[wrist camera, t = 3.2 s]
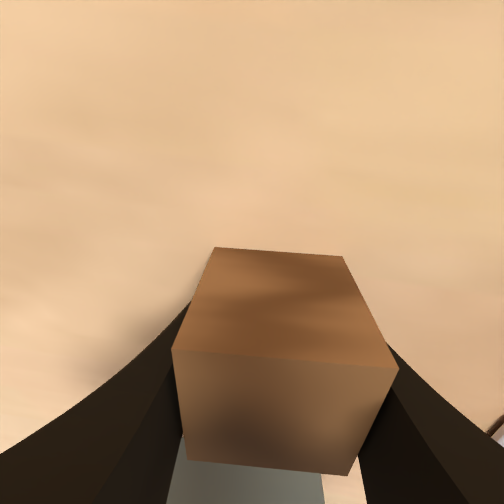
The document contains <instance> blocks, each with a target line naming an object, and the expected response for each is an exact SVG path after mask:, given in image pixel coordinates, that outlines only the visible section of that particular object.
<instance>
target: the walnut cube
mask: <svg viewBox="0 0 504 504" xmlns="http://www.w3.org/2000/svg"><path fill="white" fill-rule="evenodd" d="M171 351H172V358H173V365H174V372H175V379H176V386H177V393H178V400H179V407H180V414H181V420H182V427H183V434H184V441H185V448H186V455H187V460H193V461H203V462H212V463H222V464H232V465H242V466H252V467H261V468H271V469H281V470H291V471H301V472H311V473H320V474H330V475H340V476H348V474H349V472H350V469H351V467H352V465H353V463H354V461H355V459H356V457H357V455H358V453H359V451H360V449H361V447H362V445H363V443H364V441H365V439H366V436H367V434H368V432H369V430H370V428H371V426H372V424H373V422H374V420H375V418H376V416H377V414H378V412H379V410H380V408H381V405H382V403H383V401H384V399H385V397H386V395H387V393H388V391H389V389H390V387H391V385H392V383H393V381H394V379H395V377H396V375H397V372H398V370H399V367H398V365H397V363H396V361H395V359H394V357H393V355H392V353H391V352H390V350H389V348H388V346H387V344H386V342H385V340H384V338H383V336H382V334H381V332H380V330H379V328H378V326H377V324H376V322H375V320H374V318H373V316H372V314H371V312H370V310H369V308H368V306H367V304H366V302H365V300H364V298H363V296H362V294H361V293H360V291H359V289H358V287H357V285H356V283H355V281H354V279H353V277H352V275H351V273H350V271H349V269H348V267H347V265H346V263H345V261H344V259H343V257H342V256H328V255H314V254H301V253H287V252H273V251H260V250H246V249H233V248H219V247H214V250H213V252H212V254H211V257H210V259H209V261H208V264H207V266H206V268H205V271H204V273H203V275H202V278H201V280H200V283H199V285H198V287H197V290H196V292H195V294H194V297H193V299H192V301H191V304H190V306H189V308H188V311H187V313H186V315H185V318H184V320H183V322H182V325H181V327H180V329H179V332H178V334H177V336H176V339H175V341H174V343H173V346H172V348H171Z"/></svg>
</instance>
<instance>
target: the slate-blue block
mask: <svg viewBox="0 0 504 504" xmlns="http://www.w3.org/2000/svg"><path fill="white" fill-rule="evenodd" d="M166 504H325V501H324V494H323V487H322V480H321V474H320V473H311V472H301V471H291V470H281V469H271V468H261V467H252V466H242V465H232V464H222V463H212V462H203V461H193V460H187V455H186V448H185V441H184V437H182V438H181V442H180V446H179V450H178V454H177V459H176V463H175V467H174V471H173V476H172V480H171V484H170V489H169V493H168V498H167V502H166Z"/></svg>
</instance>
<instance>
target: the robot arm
mask: <svg viewBox="0 0 504 504" xmlns="http://www.w3.org/2000/svg"><path fill="white" fill-rule="evenodd" d="M190 304H191V301H190V302H189V304H188V305H187V306H186V307H185V308H184V309H183V310H182V311H181V313H180V314H179V315H178V316H177V317H176V318H175V319H174V320H173V321H172V322H171V323H170V325H169V326H168V327H167V328H166V329H165V330H164V331H163V332H162V333H161V334H160V335H159V336H158V337H157V338H156V339H155V340H154V341H153V342H152V343H151V344H150V345H148V346H147V347H146V348H145V349H144V350H143V351H142V352H141V353H140V354H139V355H138V356H137V357H135V358H134V359H133V360H132V361H131V362H130V363H129V364H128V365H126V366H125V367H124V368H123V369H122V370H120V371H119V372H118V373H117V374H116V375H114V376H113V377H112V378H111V379H109V380H108V381H107V382H106V383H104V384H103V385H102V386H101V387H99V388H98V389H96V390H95V391H94V392H92V393H91V394H90V395H88V396H87V397H86V398H84V399H83V400H82V401H80V402H79V403H78V404H76V405H75V406H73V407H72V408H71V409H69V410H68V411H66V412H65V413H63V414H62V415H60V416H59V417H57V418H56V419H54V420H53V421H51V422H50V423H48V424H47V425H45V426H44V427H42V428H41V429H39V430H38V431H36V432H35V433H33V434H31V435H30V436H28V437H27V438H25V439H24V440H22V441H21V442H19V443H17V444H16V445H14V446H13V447H11V448H9V449H8V450H6V451H4V452H3V453H1V454H0V504H166V502H167V498H168V493H169V489H170V484H171V480H172V476H173V471H174V467H175V463H176V459H177V454H178V450H179V446H180V442H181V438H182V435H183V427H182V420H181V414H180V407H179V400H178V393H177V386H176V379H175V372H174V365H173V358H172V351H171V348H172V346H173V343H174V341H175V339H176V336H177V334H178V332H179V329H180V327H181V325H182V322H183V320H184V318H185V315H186V313H187V311H188V308H189V306H190ZM386 344H387V343H386ZM387 346H388V348H389V350H390V352H391V353H392V355H393V357H394V359H395V361H396V363H397V365H398V367H399V370H398V372H397V375H396V377H395V379H394V381H393V383H392V385H391V387H390V389H389V391H388V393H387V395H386V397H385V399H384V401H383V403H382V405H381V408H380V410H379V412H378V414H377V416H376V418H375V420H374V422H373V424H372V426H371V428H370V430H369V432H368V434H367V436H366V439H365V441H364V443H363V445H362V447H361V449H360V451H359V453H358V459H359V464H360V469H361V474H362V479H363V484H364V490H365V495H366V500H367V504H504V423H503V425H502V426H501V427H500V428H499V429H498V430H497V431H496V432H495V433H494V434H493V435H492V437H490V436H488V435H487V434H486V433H485V432H483V431H482V430H481V429H480V428H478V427H477V426H476V425H475V424H473V423H472V422H471V421H470V420H469V419H467V418H466V417H465V416H464V415H463V414H462V413H460V412H459V411H458V410H457V409H456V408H454V407H453V406H452V405H451V404H450V403H449V402H447V401H446V400H445V399H444V398H443V397H442V396H441V395H439V394H438V393H437V392H436V391H435V390H434V389H433V388H432V387H431V386H430V385H429V384H428V383H426V382H425V381H424V380H423V379H422V378H421V377H420V376H419V375H418V374H417V373H416V372H415V371H414V370H413V369H412V368H411V367H410V366H409V365H408V364H407V363H406V362H405V361H404V360H403V359H402V358H401V357H400V356H399V355H398V354H397V353H396V352H395V351H394V350H393V349H392V348H391V347H390V346H389V345H388V344H387Z"/></svg>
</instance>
